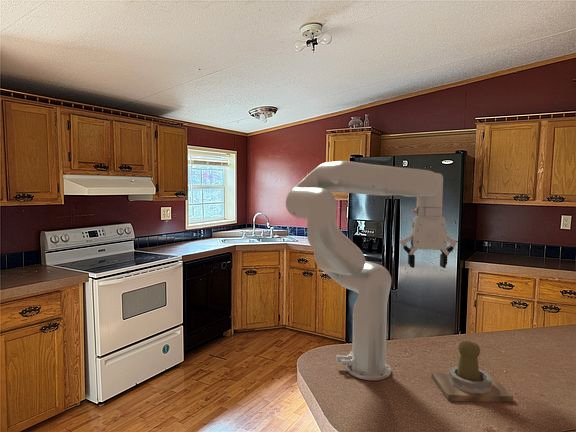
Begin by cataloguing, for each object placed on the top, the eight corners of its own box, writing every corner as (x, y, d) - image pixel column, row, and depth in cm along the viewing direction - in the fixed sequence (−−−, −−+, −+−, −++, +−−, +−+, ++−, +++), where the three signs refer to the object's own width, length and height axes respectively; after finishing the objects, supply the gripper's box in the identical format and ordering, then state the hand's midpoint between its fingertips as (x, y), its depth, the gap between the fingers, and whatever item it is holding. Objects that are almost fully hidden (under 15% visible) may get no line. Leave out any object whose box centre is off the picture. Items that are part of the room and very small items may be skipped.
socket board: (448, 400, 98) (448, 385, 97) (431, 377, 110) (432, 363, 109) (512, 402, 97) (513, 386, 97) (489, 378, 109) (489, 364, 109)
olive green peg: (476, 379, 106) (478, 339, 105) (483, 390, 100) (485, 348, 99) (453, 376, 107) (454, 337, 106) (458, 387, 101) (460, 346, 100)
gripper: (404, 213, 118) (402, 269, 119) (462, 213, 118) (459, 269, 119) (398, 211, 126) (396, 264, 127) (452, 212, 125) (450, 265, 127)
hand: (427, 267), depth 123 cm, fingers open, 9 cm apart
